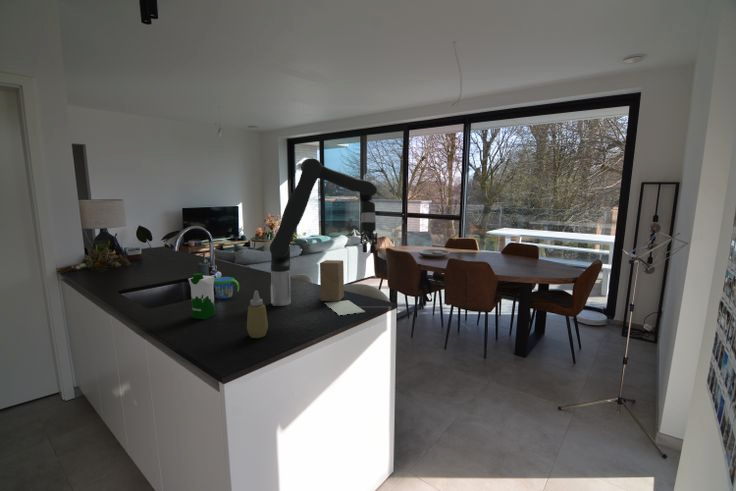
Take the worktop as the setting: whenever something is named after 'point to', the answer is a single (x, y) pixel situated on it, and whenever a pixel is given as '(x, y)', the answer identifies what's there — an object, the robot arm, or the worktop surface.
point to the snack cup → (224, 287)
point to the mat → (344, 307)
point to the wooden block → (332, 280)
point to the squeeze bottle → (257, 317)
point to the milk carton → (202, 296)
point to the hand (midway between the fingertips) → (368, 252)
